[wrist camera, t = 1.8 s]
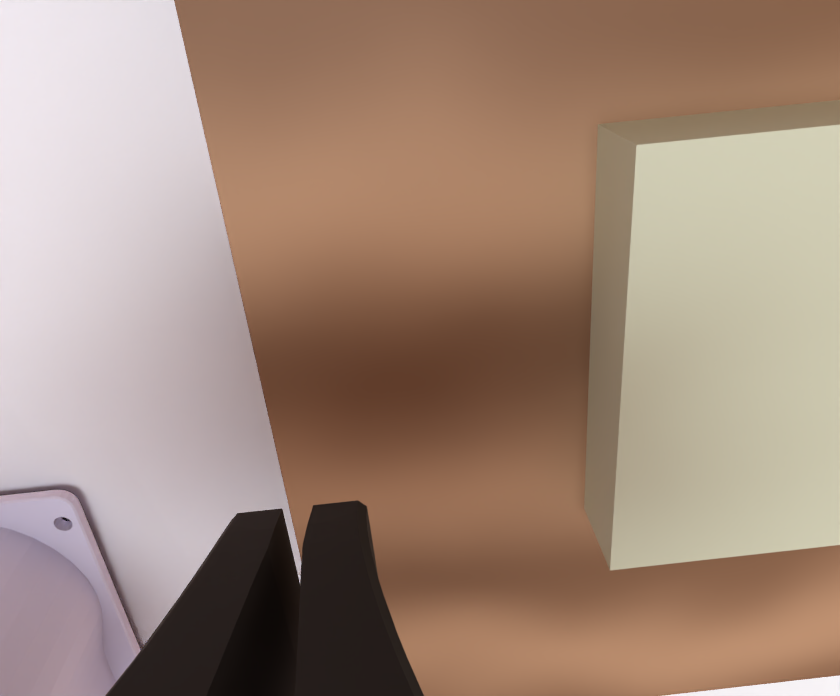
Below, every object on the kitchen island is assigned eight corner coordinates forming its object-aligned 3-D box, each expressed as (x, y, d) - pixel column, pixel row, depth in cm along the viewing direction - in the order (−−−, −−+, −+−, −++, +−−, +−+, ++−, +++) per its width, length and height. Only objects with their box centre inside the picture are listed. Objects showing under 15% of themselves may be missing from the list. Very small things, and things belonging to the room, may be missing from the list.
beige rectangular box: (827, 481, 16) (882, 540, 15) (584, 508, 16) (610, 570, 14) (923, 91, 12) (1017, 106, 10) (598, 124, 12) (636, 145, 10)
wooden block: (800, 569, 23) (877, 670, 20) (345, 620, 23) (340, 732, 20) (1032, -382, 12) (1297, -537, 9) (162, -305, 12) (76, -432, 9)
